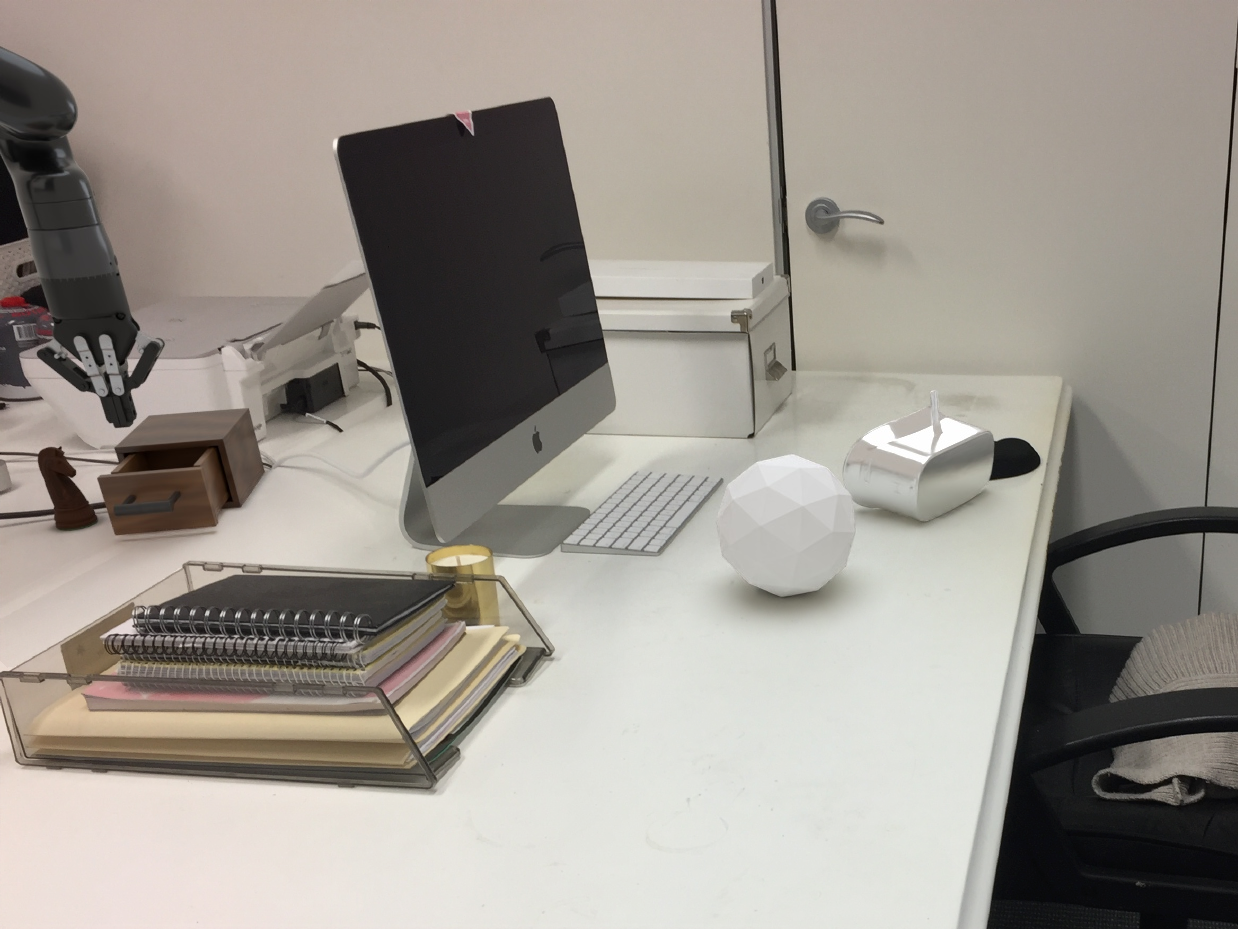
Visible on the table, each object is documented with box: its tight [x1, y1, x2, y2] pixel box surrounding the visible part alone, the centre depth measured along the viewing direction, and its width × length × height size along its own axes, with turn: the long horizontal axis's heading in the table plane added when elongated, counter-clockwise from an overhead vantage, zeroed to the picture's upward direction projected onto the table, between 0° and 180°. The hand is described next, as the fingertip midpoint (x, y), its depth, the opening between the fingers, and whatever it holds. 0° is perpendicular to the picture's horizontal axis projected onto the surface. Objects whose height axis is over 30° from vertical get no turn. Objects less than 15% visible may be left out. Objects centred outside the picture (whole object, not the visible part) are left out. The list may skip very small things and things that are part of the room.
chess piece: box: [37, 445, 99, 531], centre depth 154 cm, size 5×5×10 cm
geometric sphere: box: [715, 453, 857, 598], centre depth 130 cm, size 14×15×15 cm
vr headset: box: [842, 390, 995, 523], centre depth 153 cm, size 18×11×14 cm, turn 142°
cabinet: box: [114, 407, 266, 510], centre depth 163 cm, size 15×13×9 cm
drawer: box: [96, 445, 231, 536], centre depth 152 cm, size 19×11×7 cm, turn 12°
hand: (124, 425), depth 142 cm, fingers closed
